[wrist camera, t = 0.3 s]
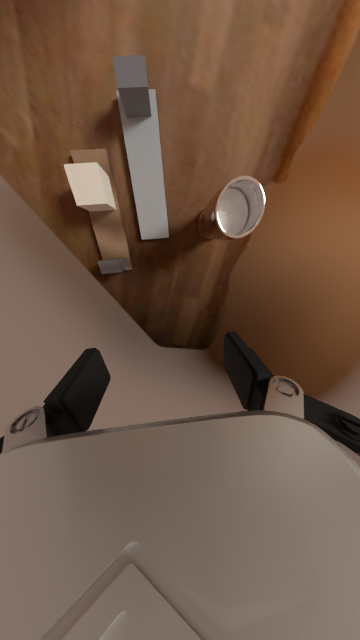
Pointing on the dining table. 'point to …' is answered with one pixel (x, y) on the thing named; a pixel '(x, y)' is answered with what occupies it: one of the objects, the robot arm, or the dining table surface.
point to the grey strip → (142, 144)
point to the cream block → (90, 186)
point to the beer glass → (233, 210)
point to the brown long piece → (107, 219)
